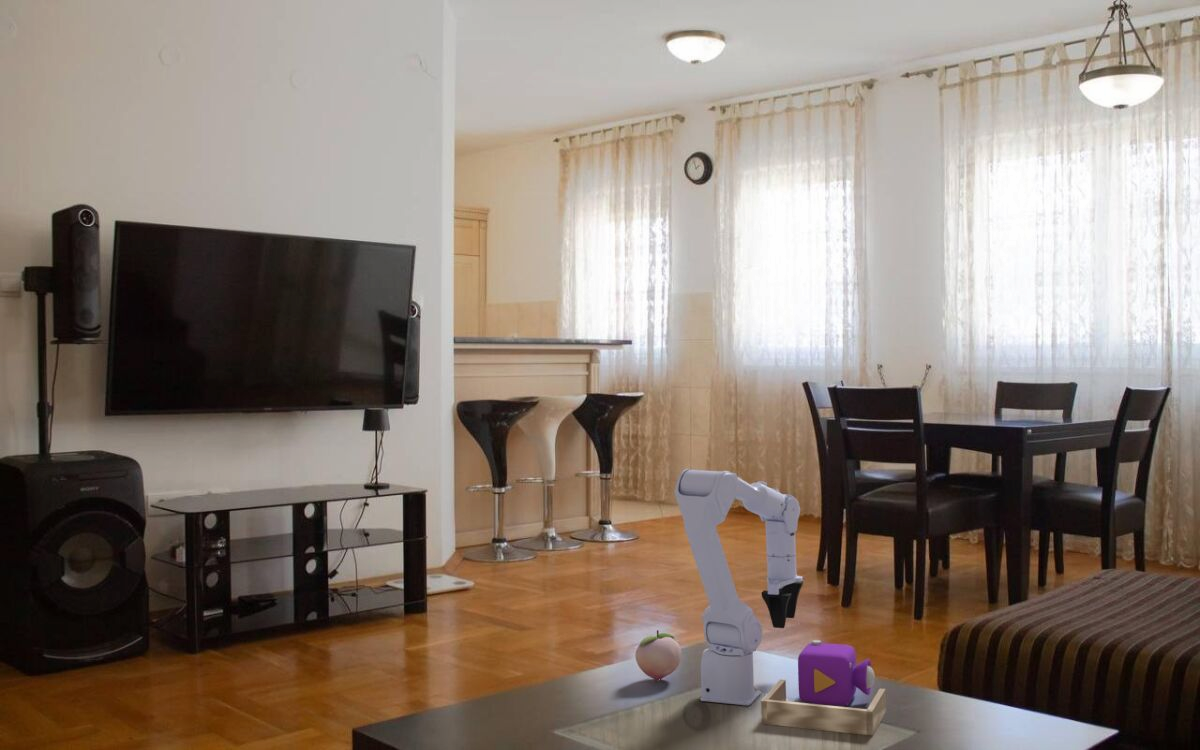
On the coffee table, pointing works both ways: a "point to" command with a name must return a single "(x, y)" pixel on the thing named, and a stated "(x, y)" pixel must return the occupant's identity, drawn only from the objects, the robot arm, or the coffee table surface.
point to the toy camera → (832, 674)
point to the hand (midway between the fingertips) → (783, 622)
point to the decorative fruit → (658, 655)
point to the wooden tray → (821, 713)
